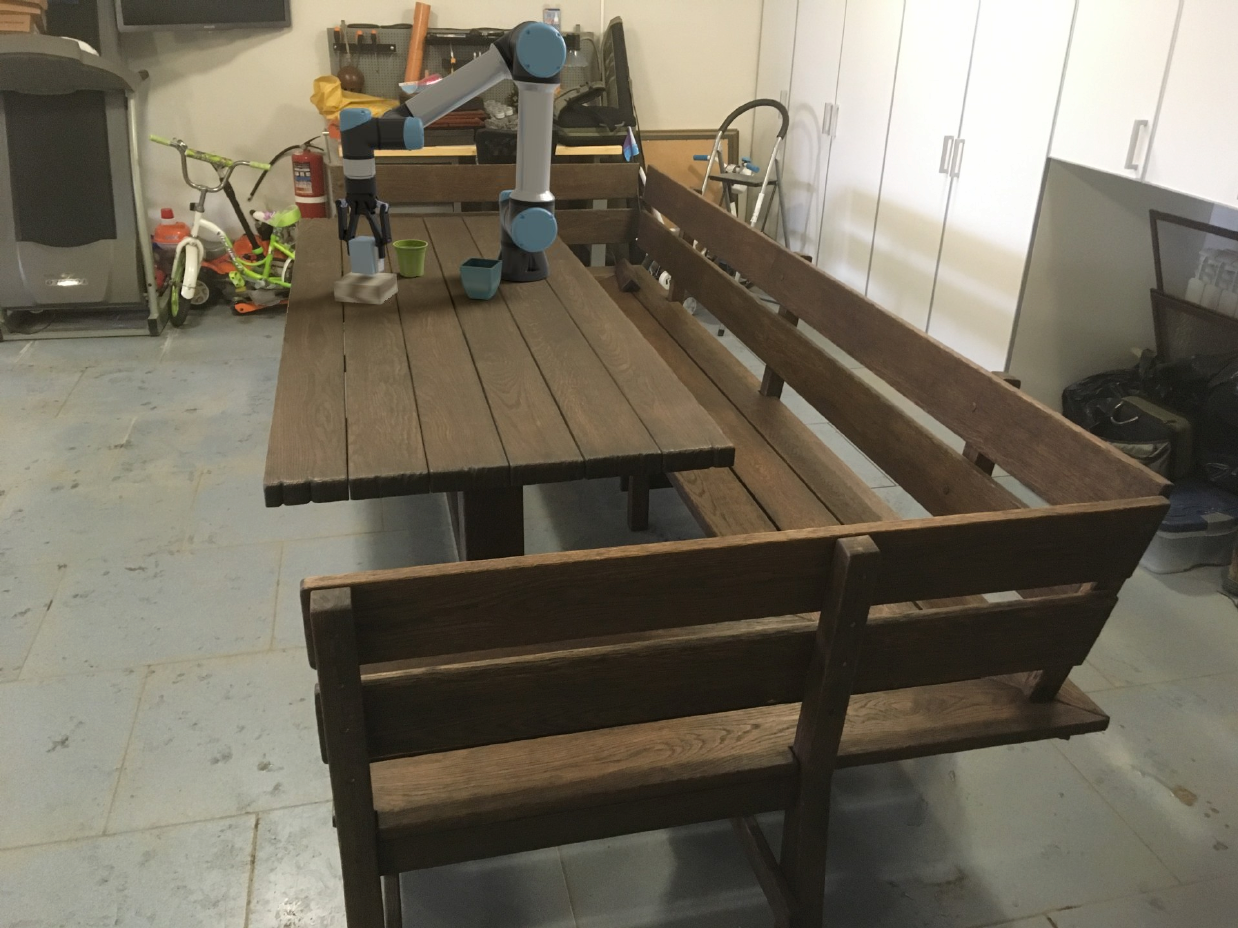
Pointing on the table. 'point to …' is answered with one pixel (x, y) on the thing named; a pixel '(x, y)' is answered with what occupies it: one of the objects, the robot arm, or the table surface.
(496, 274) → the flower pot
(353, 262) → the slate blue block
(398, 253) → the plant pot
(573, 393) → the table surface
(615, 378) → the table surface
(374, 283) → the birch block
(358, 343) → the table surface
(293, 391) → the table surface
